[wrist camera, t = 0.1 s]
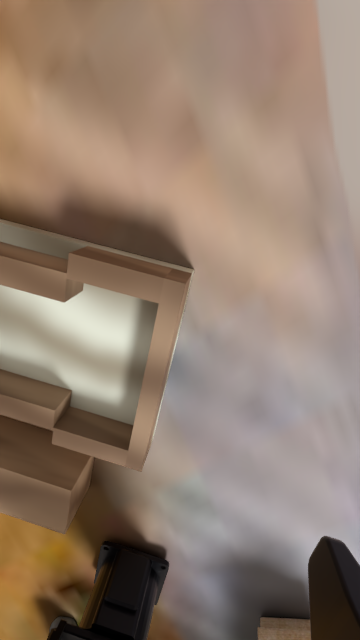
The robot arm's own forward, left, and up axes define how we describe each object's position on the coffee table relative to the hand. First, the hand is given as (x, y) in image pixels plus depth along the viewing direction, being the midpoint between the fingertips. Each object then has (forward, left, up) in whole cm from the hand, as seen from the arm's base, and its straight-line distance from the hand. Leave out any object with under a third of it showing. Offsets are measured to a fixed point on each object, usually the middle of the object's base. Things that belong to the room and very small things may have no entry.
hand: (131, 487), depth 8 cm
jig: (-5, +13, -15) cm, 21 cm away
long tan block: (-17, +12, -15) cm, 26 cm away
